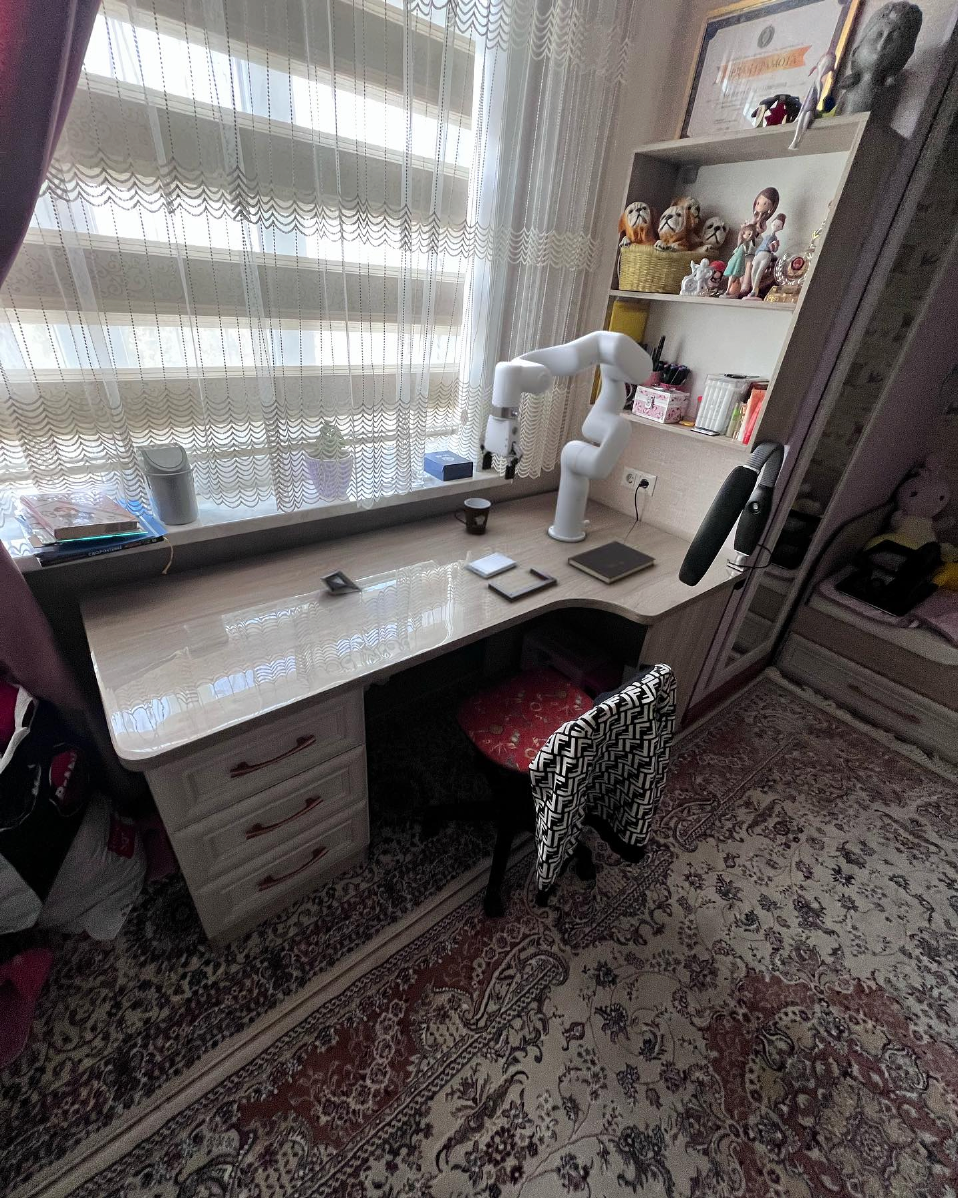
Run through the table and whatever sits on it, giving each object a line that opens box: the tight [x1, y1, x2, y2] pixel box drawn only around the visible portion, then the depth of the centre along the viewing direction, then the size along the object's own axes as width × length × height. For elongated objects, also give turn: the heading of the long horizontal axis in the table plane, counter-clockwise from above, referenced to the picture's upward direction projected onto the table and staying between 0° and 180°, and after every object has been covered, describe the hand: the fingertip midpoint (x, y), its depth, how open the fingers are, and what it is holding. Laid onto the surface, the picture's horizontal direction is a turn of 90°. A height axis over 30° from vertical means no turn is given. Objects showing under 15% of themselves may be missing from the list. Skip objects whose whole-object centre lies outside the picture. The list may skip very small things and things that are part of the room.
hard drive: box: [466, 552, 517, 579], centre depth 157 cm, size 2×8×12 cm
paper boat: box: [320, 570, 362, 595], centre depth 138 cm, size 12×6×9 cm
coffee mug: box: [453, 497, 492, 536], centre depth 177 cm, size 12×9×10 cm
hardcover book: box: [567, 540, 656, 585], centre depth 164 cm, size 16×23×2 cm
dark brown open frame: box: [487, 566, 558, 603], centre depth 149 cm, size 18×9×2 cm, turn 130°
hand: (497, 474), depth 152 cm, fingers open, 9 cm apart
